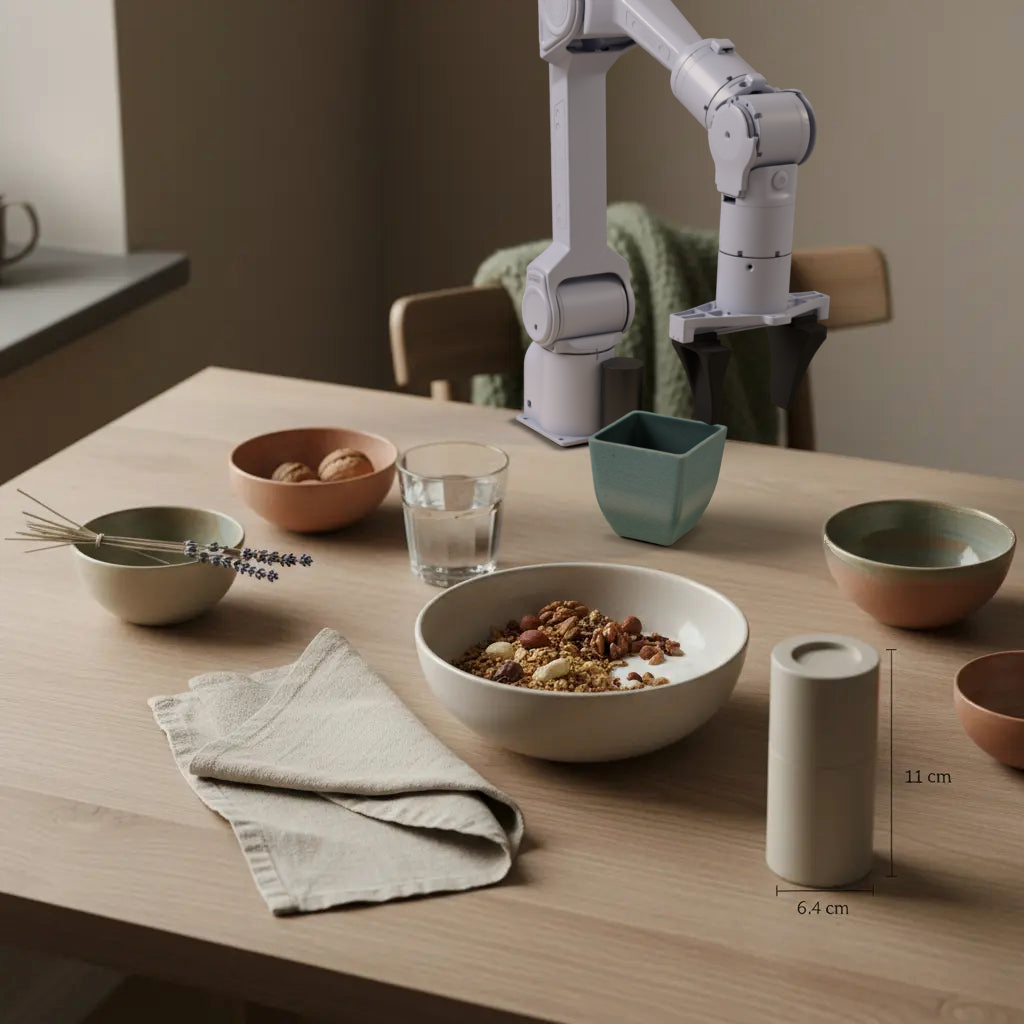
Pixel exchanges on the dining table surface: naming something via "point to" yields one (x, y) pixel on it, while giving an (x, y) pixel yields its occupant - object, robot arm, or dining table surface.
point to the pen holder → (620, 388)
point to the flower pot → (655, 474)
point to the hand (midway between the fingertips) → (744, 414)
